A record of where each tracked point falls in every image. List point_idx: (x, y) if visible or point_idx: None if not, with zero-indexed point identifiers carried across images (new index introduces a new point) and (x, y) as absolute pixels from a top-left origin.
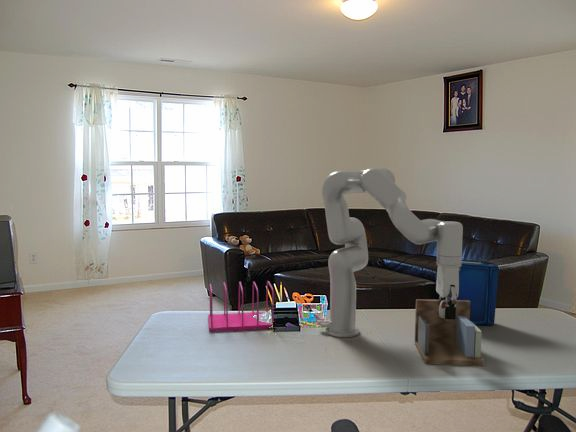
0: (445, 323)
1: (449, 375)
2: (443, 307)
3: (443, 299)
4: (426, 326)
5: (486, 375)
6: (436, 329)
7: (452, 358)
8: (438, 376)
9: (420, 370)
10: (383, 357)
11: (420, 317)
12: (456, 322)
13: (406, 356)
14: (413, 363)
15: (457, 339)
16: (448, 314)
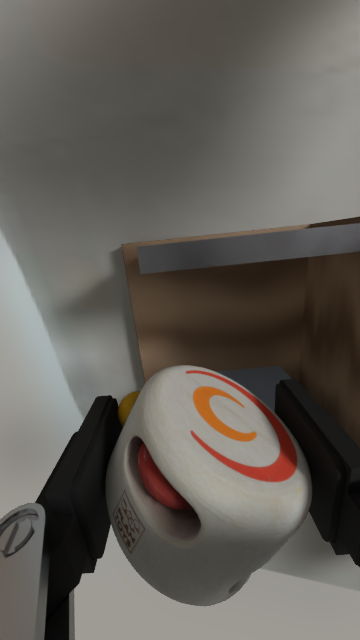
0: (351, 369)
1: (53, 308)
2: (136, 454)
3: (358, 521)
4: (137, 252)
5: (86, 400)
6: (335, 320)
7: (150, 336)
8: (33, 275)
9: (62, 220)
10: (153, 63)
11: (322, 227)
12: (348, 417)
13: (183, 177)
14: (119, 200)
15: (273, 379)
16: (67, 445)
